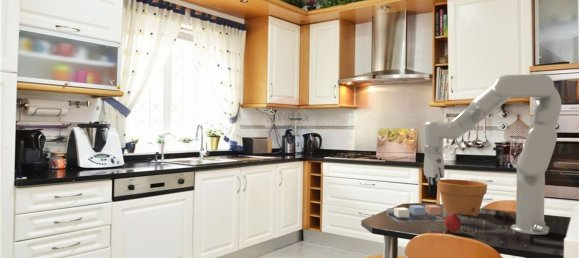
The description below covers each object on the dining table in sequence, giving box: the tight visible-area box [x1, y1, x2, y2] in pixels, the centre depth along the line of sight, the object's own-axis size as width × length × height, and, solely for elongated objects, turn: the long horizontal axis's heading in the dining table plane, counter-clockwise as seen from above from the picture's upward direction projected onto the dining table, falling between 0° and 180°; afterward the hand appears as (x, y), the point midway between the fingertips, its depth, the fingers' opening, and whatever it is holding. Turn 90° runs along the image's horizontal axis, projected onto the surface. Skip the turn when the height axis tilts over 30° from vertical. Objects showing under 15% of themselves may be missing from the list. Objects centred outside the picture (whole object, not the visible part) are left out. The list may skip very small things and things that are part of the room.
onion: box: [444, 212, 462, 234], centre depth 162 cm, size 6×6×8 cm
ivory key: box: [393, 207, 409, 217], centre depth 180 cm, size 5×5×3 cm
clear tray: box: [386, 207, 446, 223], centre depth 181 cm, size 13×22×4 cm, turn 98°
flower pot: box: [437, 178, 488, 218], centre depth 197 cm, size 21×21×15 cm
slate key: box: [409, 204, 425, 215], centre depth 181 cm, size 5×5×3 cm
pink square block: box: [424, 204, 442, 215], centre depth 182 cm, size 5×5×3 cm
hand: (432, 193), depth 182 cm, fingers closed
